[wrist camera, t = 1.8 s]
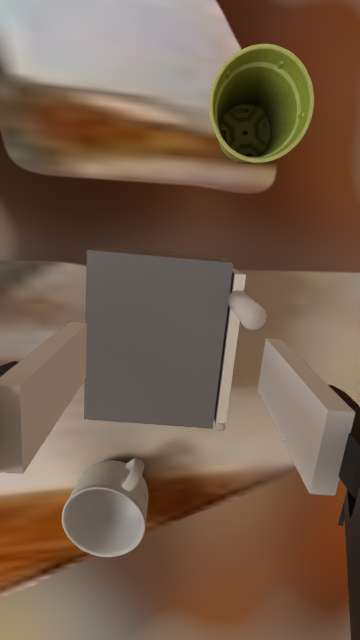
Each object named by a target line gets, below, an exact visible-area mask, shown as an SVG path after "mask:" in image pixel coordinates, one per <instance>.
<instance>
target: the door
mask: <svg viewBox="0 0 360 640" xmlns="http://www.w3.org/2000/svg"><path fill="white" fill-rule="evenodd" d="M245 280H246V275H245V274H244V273H242V272H240V271H238V270H237V269H234V268H233V270H232V278H231V286H230V294H229V296H228V299H227V302H228V310H227V318H226V326H225V334H224V341H223V349H222V357H221V365H220V373H219V381H218V389H217V397H216V405H215V413H214V419H215V424H216V429H217V430H218V431H223V430H224V429H225V423H226V419H227V412H228V405H229V397H230V390H231V383H232V375H233V368H234V361H235V353H236V346H237V339H238V331H239V324H240V322H241V323H242V324H243V326H244V327H246V328H247V329H250V330H256V329H259V328H261V327H262V326H263V325H264V324H265V322H266V319H267V314H266V311H265V310H264V308H263V307H261V306H260V305H259V304H258V303H257V302H255V301H254V300H253V299H252V298H251V297H249V296H248V295H247V294H246V293H245V292H244V287H245Z"/></svg>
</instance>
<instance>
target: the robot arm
mask: <svg viewBox="0 0 360 640" xmlns="http://www.w3.org/2000/svg"><path fill="white" fill-rule="evenodd" d="M86 337H87V323H79V322H69V323H68V324H67V325H66V326H64V327H63V328H62V329H60V330H59V331H58V332H57V333H55V334H54V335H53V336H52V337H50V338H49V339H48V340H47V341H45V342H44V343H43V344H41V345H40V346H39V347H38V348H36V349H35V350H34V351H33V352H31V353H30V354H29V355H28V356H26V357H25V358H24V359H22V360H21V361H20V362H16V361H13V362H10V363H7V364H5V365H2V366H0V472H6V473H20V474H23V473H24V471H25V470H26V468H27V467H28V465H29V464H30V462H31V461H32V459H33V458H34V456H35V455H36V453H37V452H38V450H39V448H40V447H41V445H42V444H43V442H44V441H45V439H46V438H47V436H48V435H49V433H50V432H51V430H52V429H53V427H54V426H55V424H56V423H57V421H58V419H59V418H60V416H61V415H62V413H63V412H64V410H65V409H66V407H67V406H68V404H69V403H70V401H71V400H72V398H73V397H74V395H75V393H76V392H77V390H78V389H79V387H80V386H81V384H82V383H83V381H84V380H85V378H86ZM257 392H258V394H259V396H260V397H261V399H262V401H263V403H264V405H265V407H266V409H267V411H268V413H269V415H270V417H271V419H272V421H273V423H274V425H275V427H276V429H277V431H278V433H279V435H280V437H281V439H282V441H283V442H284V444H285V446H286V448H287V450H288V452H289V454H290V456H291V458H292V460H293V462H294V464H295V466H296V468H297V470H298V472H299V474H300V475H301V478H302V480H303V481H304V484H305V486H306V487H307V489H308V491H309V493H310V494H321V495H335V494H336V490H337V486H338V482H339V478H340V479H341V480H342V482H343V484H344V485H345V486H346V488H347V492H346V496H345V500H344V504H343V508H342V512H341V516H340V520H339V524H338V525H341V526H343V523H344V521H345V535H346V551H347V552H346V553H347V571H348V590H349V607H350V608H349V609H350V626H351V640H360V407H359V405H358V404H357V403H356V402H355V401H352V399H351V398H350V397H349V396H348V395H347V394H346V393H345V392H343V391H342V390H340V389H338V388H336V387H334V386H333V385H327V384H326V383H325V382H324V381H323V380H322V379H321V378H320V377H319V376H318V375H317V374H316V373H315V372H314V371H313V370H312V369H311V368H310V367H309V366H308V365H307V364H306V363H305V362H304V361H303V360H302V359H301V358H300V357H299V356H298V355H297V354H296V353H295V352H294V351H293V350H292V349H291V348H290V347H289V346H288V345H287V344H286V343H285V342H284V341H283V340H282V339H272V338H266V340H265V346H264V352H263V358H262V365H261V371H260V377H259V383H258V390H257Z"/></svg>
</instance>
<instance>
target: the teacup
mask: <svg viewBox="0 0 360 640" xmlns="http://www.w3.org/2000/svg"><path fill="white" fill-rule="evenodd" d="M143 470H144V463H143V462H142V461H141V460H139V459H137V458H134V459H132V460H131V461H130V462H127V463H124V462H121V461H114V460H109V461H103V462H100V463H97V464H95V465H93V466H92V467H90V468H89V469H88V470H87V471H86V472H85V473H84V474H83V475H82V477H81V478H80V480H79V481H78V483H77V485H76V487H75V488H74V490H73V492H72V494H71V496H70V498H69V499H68V500H67V502H66V504H65V506H64V509H63V512H62V524H63V528H64V530H65V533H66V534H67V536H68V537H69V539H70V540H71V541H72V542H73V543H74V544H75V545H76V546H78V547H79V548H80V549H81V550H83V551H86V552H88V553H90V554H92V555H96V556H101V557H114V556H119V555H123V554H125V553H128V552H129V551H131V550H133V549H134V548H135V547H136V546H137V545H138V544H139V543H140V541H141V540H142V537H143V535H144V532H145V527H146V526H145V521H146V516H147V509H148V499H149V495H148V488H147V484H146V482H145V480H144V478H143V476H142V474H143Z"/></svg>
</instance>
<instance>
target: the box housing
mask: <svg viewBox="0 0 360 640" xmlns="http://www.w3.org/2000/svg"><path fill="white" fill-rule="evenodd" d="M232 270H233V263H232V262H230V261H228V260H226V259H224V258H222V257H218V256H207V255H195V254H184V253H173V252H172V253H171V252H161V251H150V250H138V249H128V248H115V247H104V248H98V249H91V250H87V280H86V323H87V337H86V378H85V404H84V419H90V420H103V421H117V422H130V423H144V424H157V425H171V426H184V427H198V428H212V429H213V421H214V413H215V405H216V397H217V389H218V381H219V373H220V365H221V357H222V349H223V341H224V334H225V326H226V318H227V310H228V302H227V299H228V296H229V294H230V286H231V278H232Z"/></svg>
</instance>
